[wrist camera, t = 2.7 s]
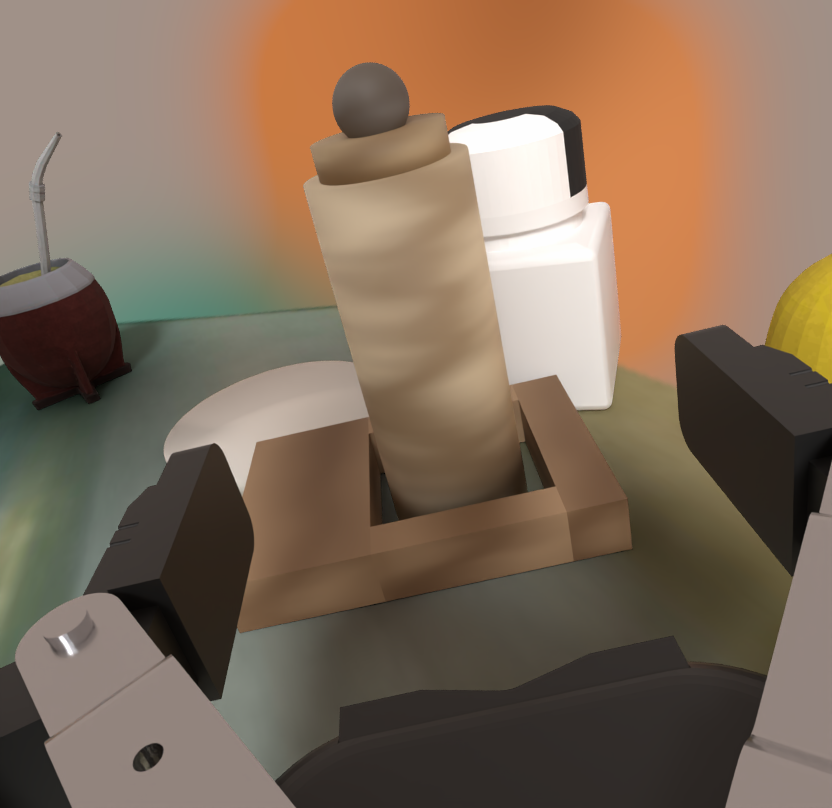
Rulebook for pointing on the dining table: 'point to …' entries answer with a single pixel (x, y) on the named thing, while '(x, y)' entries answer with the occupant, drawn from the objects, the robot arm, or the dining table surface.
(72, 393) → the mate gourd
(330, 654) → the dining table surface
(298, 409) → the saucer
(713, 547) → the dining table surface
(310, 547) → the frame
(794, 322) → the lemon
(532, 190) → the medicine bottle
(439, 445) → the pepper mill
